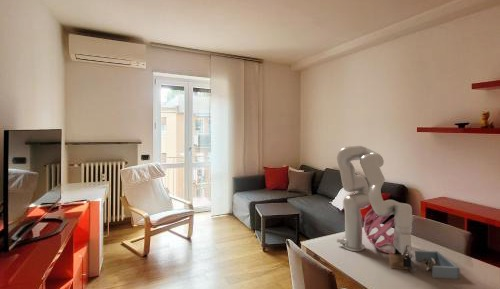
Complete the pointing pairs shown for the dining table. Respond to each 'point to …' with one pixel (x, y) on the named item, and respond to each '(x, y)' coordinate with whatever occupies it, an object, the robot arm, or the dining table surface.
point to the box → (446, 266)
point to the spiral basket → (379, 230)
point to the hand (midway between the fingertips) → (402, 261)
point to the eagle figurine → (429, 263)
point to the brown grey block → (400, 262)
